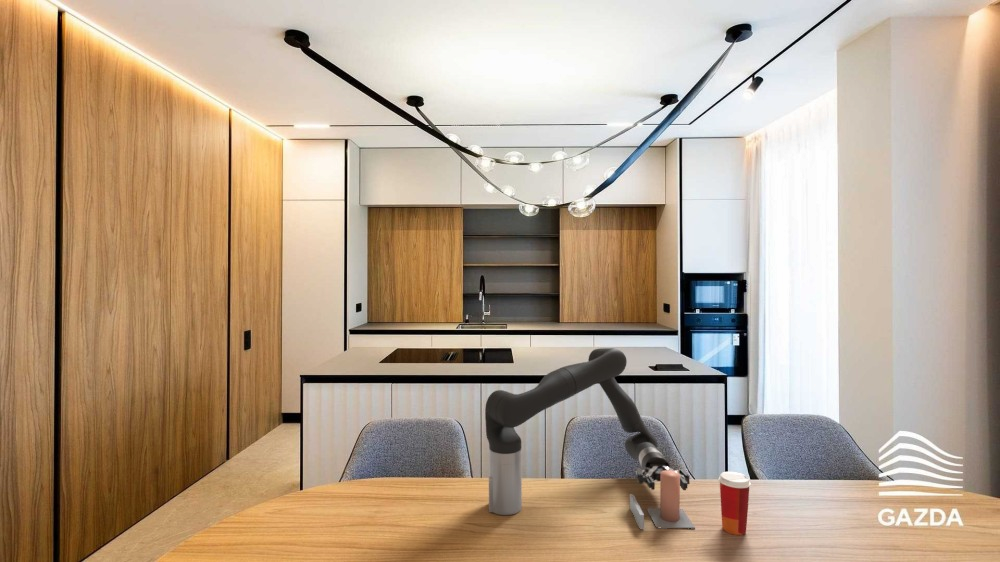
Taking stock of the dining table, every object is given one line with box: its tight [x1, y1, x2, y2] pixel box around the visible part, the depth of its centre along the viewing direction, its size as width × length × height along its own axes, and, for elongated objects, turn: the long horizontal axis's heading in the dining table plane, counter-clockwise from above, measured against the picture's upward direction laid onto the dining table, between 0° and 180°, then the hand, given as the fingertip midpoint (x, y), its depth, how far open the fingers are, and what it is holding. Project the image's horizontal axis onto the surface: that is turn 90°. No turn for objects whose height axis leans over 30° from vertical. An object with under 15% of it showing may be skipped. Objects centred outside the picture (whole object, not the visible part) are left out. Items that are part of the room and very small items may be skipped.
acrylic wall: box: [629, 493, 645, 530], centre depth 136 cm, size 1×12×4 cm, turn 178°
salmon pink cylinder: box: [659, 470, 681, 522], centre depth 136 cm, size 5×5×12 cm
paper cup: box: [717, 471, 752, 536], centre depth 130 cm, size 8×8×14 cm
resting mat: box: [646, 508, 696, 530], centre depth 136 cm, size 10×10×1 cm
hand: (669, 486), depth 137 cm, fingers open, 8 cm apart
